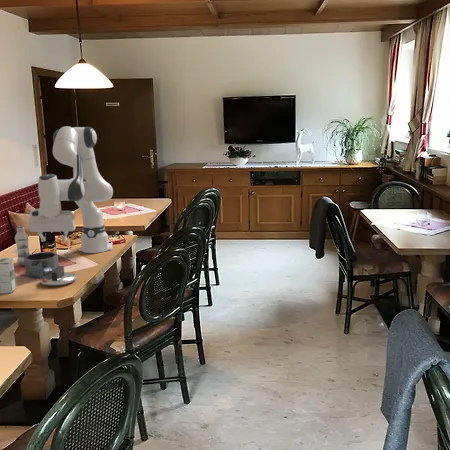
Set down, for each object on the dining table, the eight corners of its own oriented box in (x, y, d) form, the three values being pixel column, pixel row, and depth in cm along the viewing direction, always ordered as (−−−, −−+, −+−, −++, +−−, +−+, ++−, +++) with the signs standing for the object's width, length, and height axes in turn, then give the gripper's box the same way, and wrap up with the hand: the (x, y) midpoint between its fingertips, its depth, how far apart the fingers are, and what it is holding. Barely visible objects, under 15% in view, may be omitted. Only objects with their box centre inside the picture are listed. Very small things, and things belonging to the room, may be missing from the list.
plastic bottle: (27, 267, 259) (22, 228, 255) (15, 266, 261) (10, 228, 256) (34, 263, 265) (30, 226, 261) (22, 262, 267) (18, 225, 262)
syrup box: (3, 289, 226) (-1, 258, 223) (16, 288, 227) (12, 257, 224) (-2, 293, 221) (-6, 261, 218) (12, 293, 221) (8, 261, 218)
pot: (35, 268, 257) (34, 250, 255) (63, 267, 257) (62, 250, 255) (20, 281, 237) (17, 262, 235) (50, 280, 237) (48, 261, 235)
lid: (47, 277, 242) (46, 264, 241) (80, 276, 242) (79, 263, 241) (35, 288, 227) (34, 274, 225) (70, 287, 227) (69, 274, 225)
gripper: (76, 209, 230) (78, 238, 233) (31, 210, 230) (34, 239, 233) (71, 211, 224) (74, 242, 227) (25, 212, 224) (29, 243, 227)
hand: (53, 241), depth 230 cm, fingers open, 8 cm apart
